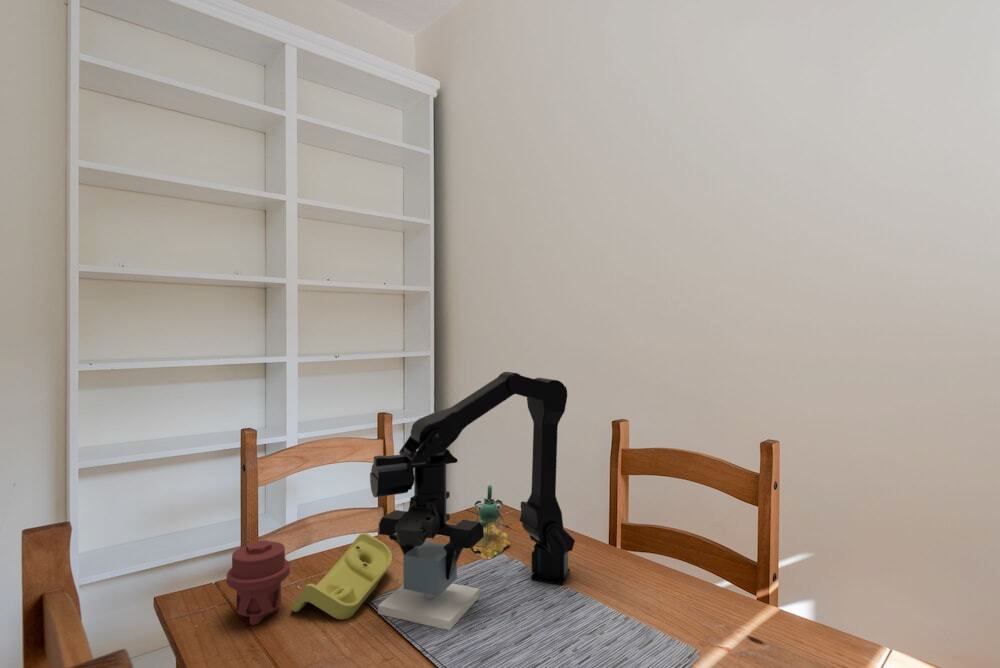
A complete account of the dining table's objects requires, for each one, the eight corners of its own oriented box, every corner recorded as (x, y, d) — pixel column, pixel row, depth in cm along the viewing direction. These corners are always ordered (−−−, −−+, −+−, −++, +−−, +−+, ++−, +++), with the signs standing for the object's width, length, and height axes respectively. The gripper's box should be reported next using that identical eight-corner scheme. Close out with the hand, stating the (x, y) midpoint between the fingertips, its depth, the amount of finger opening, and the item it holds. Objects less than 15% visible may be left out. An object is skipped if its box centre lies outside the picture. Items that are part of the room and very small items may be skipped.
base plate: (479, 596, 99) (479, 572, 99) (449, 630, 88) (449, 603, 88) (413, 583, 105) (413, 560, 105) (378, 613, 93) (378, 588, 93)
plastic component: (351, 610, 90) (301, 579, 92) (335, 646, 91) (286, 615, 93) (400, 552, 110) (357, 527, 112) (386, 582, 111) (344, 558, 113)
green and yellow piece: (511, 529, 133) (512, 472, 131) (508, 569, 115) (509, 504, 114) (473, 528, 134) (473, 471, 132) (464, 568, 116) (464, 503, 114)
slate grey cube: (456, 578, 98) (456, 546, 98) (438, 596, 92) (438, 561, 92) (423, 572, 101) (423, 540, 101) (403, 588, 94) (403, 555, 94)
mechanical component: (295, 598, 99) (282, 628, 89) (237, 603, 97) (218, 633, 87) (295, 531, 99) (282, 554, 89) (237, 535, 97) (217, 558, 87)
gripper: (359, 496, 92) (360, 586, 92) (456, 509, 85) (457, 606, 85) (395, 479, 103) (395, 560, 103) (484, 489, 96) (484, 576, 96)
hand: (430, 575), depth 96 cm, fingers closed on slate grey cube, 7 cm apart
